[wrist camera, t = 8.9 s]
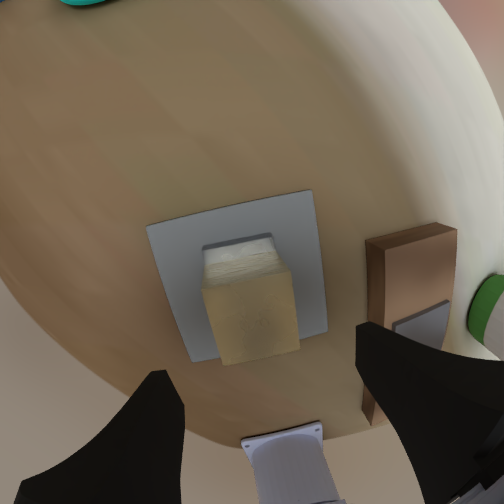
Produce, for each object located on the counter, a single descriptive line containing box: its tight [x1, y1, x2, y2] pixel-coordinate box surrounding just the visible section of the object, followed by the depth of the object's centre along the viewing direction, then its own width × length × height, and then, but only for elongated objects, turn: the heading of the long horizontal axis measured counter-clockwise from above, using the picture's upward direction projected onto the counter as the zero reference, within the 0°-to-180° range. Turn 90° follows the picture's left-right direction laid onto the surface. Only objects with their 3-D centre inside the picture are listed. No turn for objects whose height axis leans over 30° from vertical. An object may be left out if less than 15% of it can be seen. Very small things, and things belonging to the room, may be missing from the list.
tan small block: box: [201, 232, 300, 366], centre depth 15 cm, size 6×4×5 cm, turn 10°
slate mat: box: [146, 190, 328, 363], centre depth 17 cm, size 10×10×1 cm
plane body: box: [362, 223, 457, 426], centre depth 19 cm, size 18×7×3 cm, turn 11°
